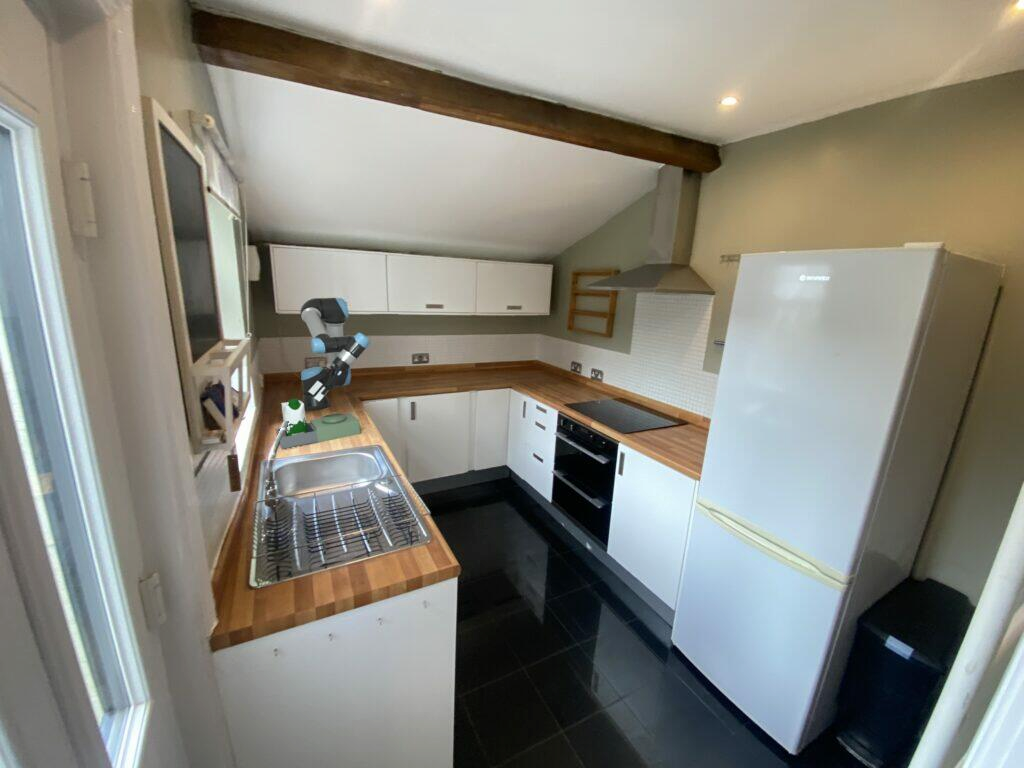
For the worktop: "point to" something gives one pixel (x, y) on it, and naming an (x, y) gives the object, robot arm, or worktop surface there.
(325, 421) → the side socket deck
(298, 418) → the soya milk
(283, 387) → the worktop surface
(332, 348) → the robot arm
